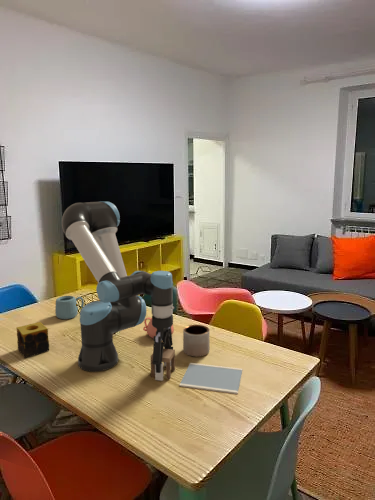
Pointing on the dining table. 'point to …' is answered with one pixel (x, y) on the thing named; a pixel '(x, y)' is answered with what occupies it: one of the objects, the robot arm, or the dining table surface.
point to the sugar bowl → (152, 328)
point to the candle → (32, 339)
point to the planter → (196, 340)
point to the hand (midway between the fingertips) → (163, 372)
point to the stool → (167, 357)
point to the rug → (212, 378)
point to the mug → (67, 307)
